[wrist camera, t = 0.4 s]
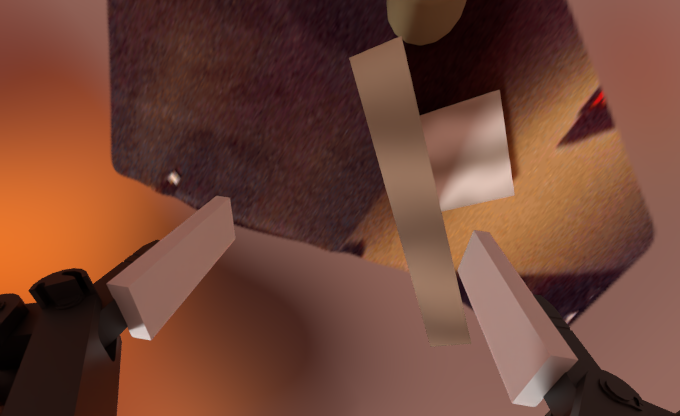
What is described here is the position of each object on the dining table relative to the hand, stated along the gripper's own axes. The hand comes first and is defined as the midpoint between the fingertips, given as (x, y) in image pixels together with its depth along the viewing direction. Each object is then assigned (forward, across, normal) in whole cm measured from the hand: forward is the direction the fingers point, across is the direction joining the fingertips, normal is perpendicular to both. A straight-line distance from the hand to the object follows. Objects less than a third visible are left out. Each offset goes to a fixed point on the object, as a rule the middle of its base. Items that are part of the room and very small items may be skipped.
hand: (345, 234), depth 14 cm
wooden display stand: (+24, +11, 0) cm, 27 cm away
